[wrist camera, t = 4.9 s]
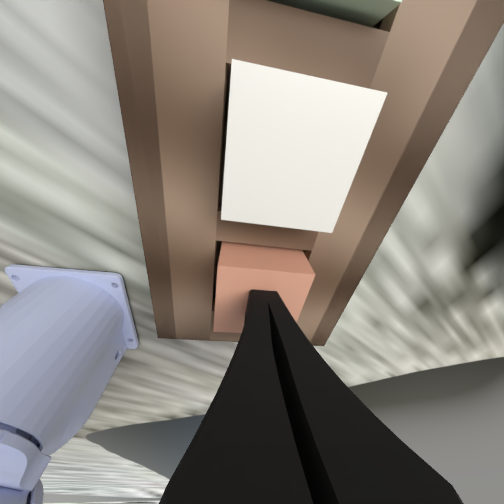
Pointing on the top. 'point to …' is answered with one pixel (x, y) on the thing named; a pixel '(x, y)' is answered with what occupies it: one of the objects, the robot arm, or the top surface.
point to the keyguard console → (215, 132)
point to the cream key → (293, 146)
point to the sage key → (347, 9)
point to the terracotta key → (258, 280)
